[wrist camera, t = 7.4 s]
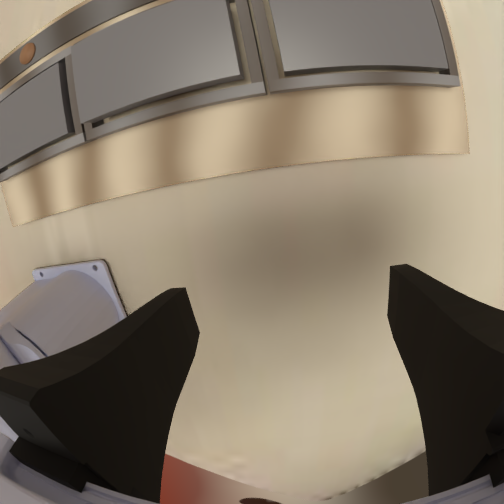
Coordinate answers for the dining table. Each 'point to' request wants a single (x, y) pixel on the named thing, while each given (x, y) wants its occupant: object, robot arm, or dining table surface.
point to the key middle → (155, 57)
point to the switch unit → (225, 116)
